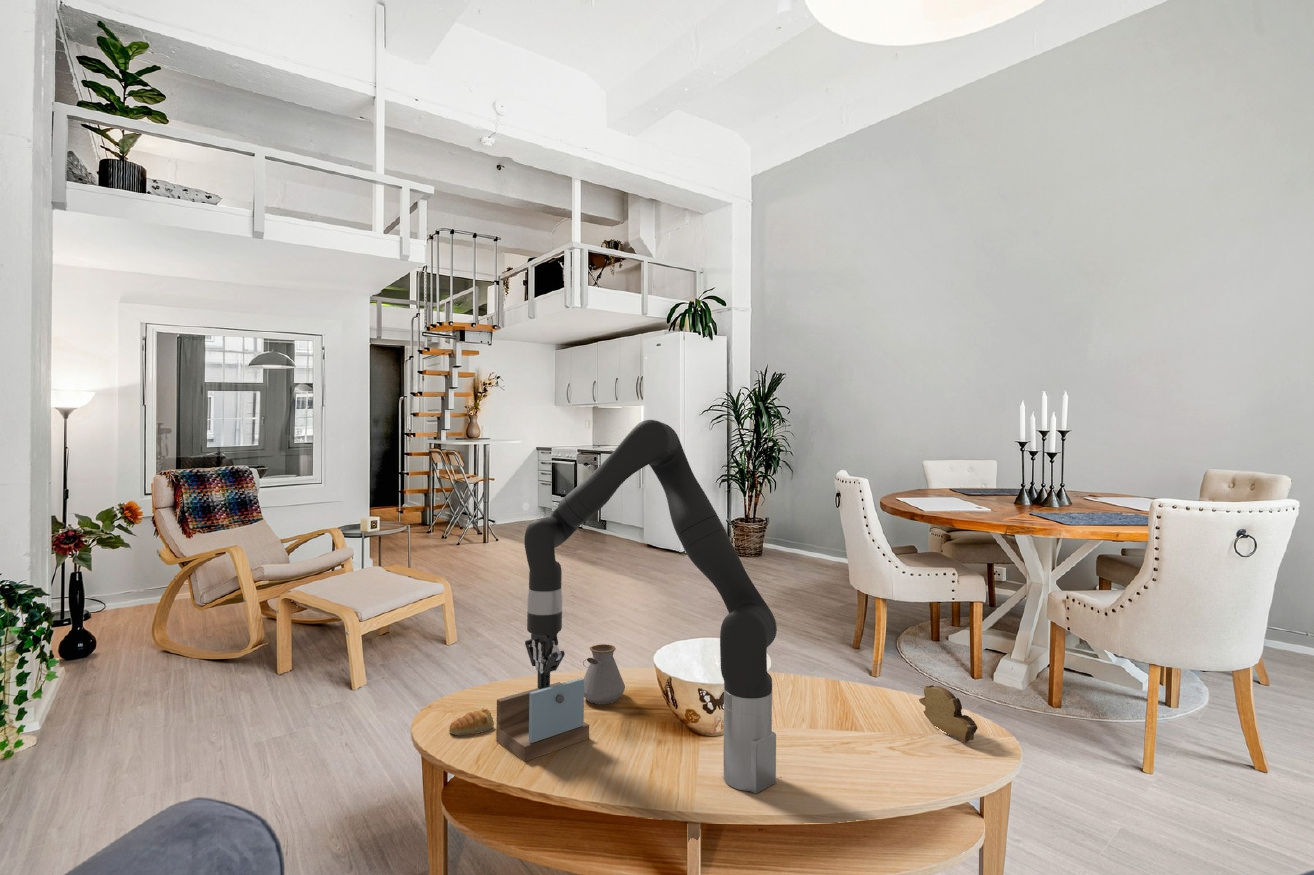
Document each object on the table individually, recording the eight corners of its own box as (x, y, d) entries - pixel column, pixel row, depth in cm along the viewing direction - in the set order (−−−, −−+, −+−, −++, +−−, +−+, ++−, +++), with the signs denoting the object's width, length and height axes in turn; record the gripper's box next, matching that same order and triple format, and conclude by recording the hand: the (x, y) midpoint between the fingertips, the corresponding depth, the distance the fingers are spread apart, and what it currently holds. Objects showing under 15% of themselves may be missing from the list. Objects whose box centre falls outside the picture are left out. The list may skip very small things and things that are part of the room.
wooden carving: (984, 747, 138) (984, 701, 139) (968, 750, 137) (968, 703, 137) (928, 717, 154) (928, 675, 154) (912, 719, 152) (912, 677, 153)
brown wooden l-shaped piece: (589, 738, 140) (589, 697, 141) (524, 761, 130) (525, 717, 130) (558, 720, 149) (559, 682, 150) (496, 741, 139) (496, 699, 139)
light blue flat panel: (528, 741, 132) (529, 692, 132) (581, 723, 140) (581, 678, 140) (533, 744, 130) (534, 695, 130) (585, 726, 139) (586, 680, 139)
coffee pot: (586, 688, 170) (587, 632, 170) (629, 691, 168) (629, 634, 168) (562, 722, 148) (563, 657, 149) (610, 726, 147) (611, 660, 147)
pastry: (456, 741, 139) (456, 723, 139) (444, 731, 144) (444, 714, 144) (496, 729, 145) (496, 712, 145) (482, 720, 150) (483, 703, 150)
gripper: (576, 612, 138) (575, 693, 137) (543, 600, 148) (542, 676, 147) (546, 618, 133) (544, 702, 132) (514, 605, 143) (513, 684, 142)
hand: (543, 688), depth 140 cm, fingers closed
